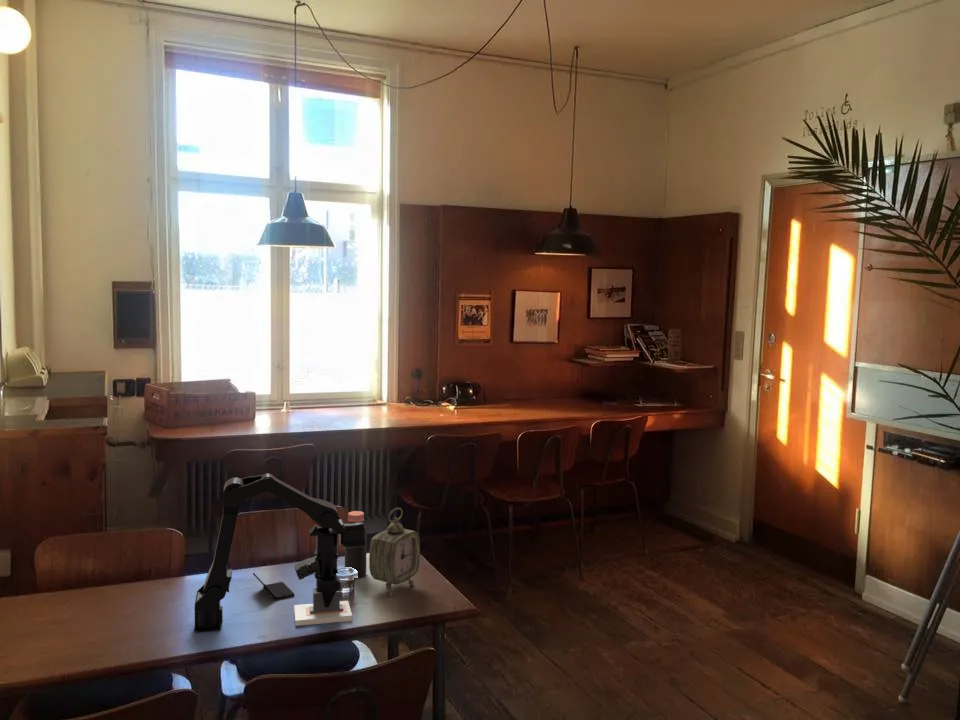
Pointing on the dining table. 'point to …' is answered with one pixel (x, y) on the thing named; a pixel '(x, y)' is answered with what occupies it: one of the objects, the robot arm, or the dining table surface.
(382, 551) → the tabletop clock
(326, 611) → the header board
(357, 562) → the bottle
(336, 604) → the connector housing
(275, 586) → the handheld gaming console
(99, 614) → the dining table surface
